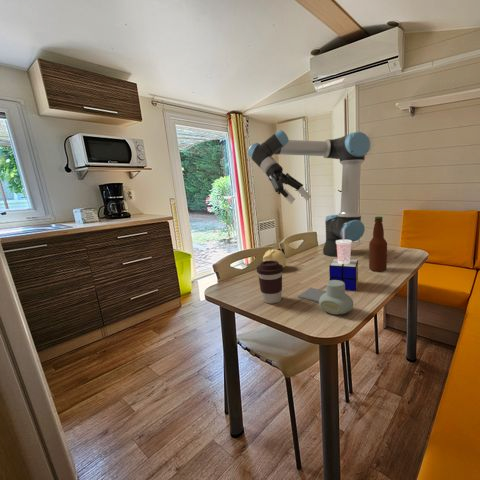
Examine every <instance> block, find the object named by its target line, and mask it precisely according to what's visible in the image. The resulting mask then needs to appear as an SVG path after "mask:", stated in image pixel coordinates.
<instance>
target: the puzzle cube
mask: <svg viewBox="0 0 480 480" xmlns="http://www.w3.org/2000/svg"><path fill="white" fill-rule="evenodd" d="M328 270H329V281H330V280H339V281H342V282H344V283H345V291H352V292H356V291H357V288H358V284H359V260H358V259H350V263H349V264H340V263H338V258H333V259H332V261H331V262H330V264H329V269H328Z"/></svg>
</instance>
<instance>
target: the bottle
mask: <svg viewBox="0 0 480 480" xmlns="http://www.w3.org/2000/svg"><path fill="white" fill-rule="evenodd" d="M383 218H384V217H382V216H375V217H374V226H373V231H372V238H371V240H370V241H369V246H368V248H369V249H368V269H369V270H370V271H372V272H375V273H376V272H377V273H381V272H382V273H383V272H386V270H387V269H388V268H387V266H388V264H387V263H388V260H387V259H388V241H386V239H385V237H384V236H385V235H384V234H385V232H384V231H385V230H384V224H383Z"/></svg>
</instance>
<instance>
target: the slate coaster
mask: <svg viewBox="0 0 480 480" xmlns="http://www.w3.org/2000/svg"><path fill="white" fill-rule="evenodd" d="M324 293H326V290H324V289H320V288H314V287H309V288H308V289H306V290H305V291H303V292H302V293H300V294H298V295H297V298H298V299H301V300H306V301H310V302H312V303H313V302H314V303H317V304H319V299H320V297H321V296H322V295H323V294H324Z"/></svg>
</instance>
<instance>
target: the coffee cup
mask: <svg viewBox="0 0 480 480" xmlns="http://www.w3.org/2000/svg"><path fill="white" fill-rule="evenodd" d="M256 272H257V273H258V282H259V288H260V293H261V297H262V301H263V302H264V303H265V304H271V305H272V304H277V303H279V302H281V300H282V290H283V274H282V273H283V272H284V268H283V266H282V265H281V264H279V263H278V262H277V261H271V260H270V261H264V262H263V261H262V262H260V264H259V265H258V266H257V267H256Z"/></svg>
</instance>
